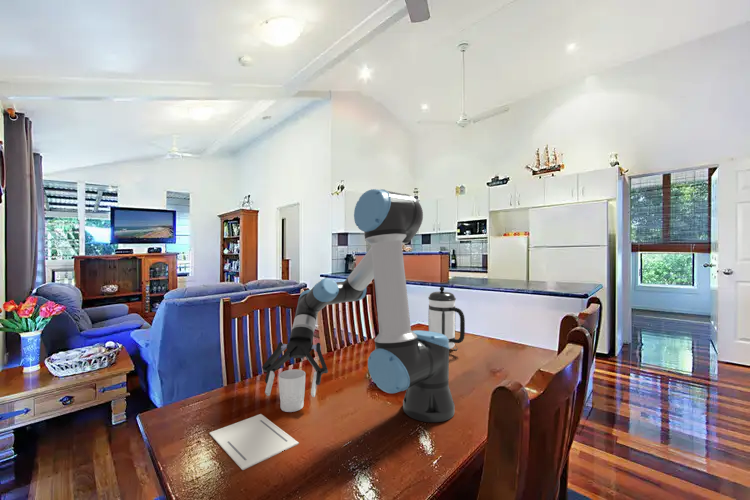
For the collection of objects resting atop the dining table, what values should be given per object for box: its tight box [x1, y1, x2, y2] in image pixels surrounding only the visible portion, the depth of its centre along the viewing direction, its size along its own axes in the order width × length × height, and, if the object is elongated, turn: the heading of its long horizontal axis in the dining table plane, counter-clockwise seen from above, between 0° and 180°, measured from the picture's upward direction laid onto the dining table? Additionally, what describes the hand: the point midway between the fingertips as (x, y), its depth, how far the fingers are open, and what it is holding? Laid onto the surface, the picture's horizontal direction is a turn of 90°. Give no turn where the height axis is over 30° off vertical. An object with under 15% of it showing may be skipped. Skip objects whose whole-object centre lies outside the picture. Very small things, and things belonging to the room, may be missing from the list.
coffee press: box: [427, 286, 466, 351], centre depth 159 cm, size 17×16×30 cm
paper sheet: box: [209, 413, 300, 471], centre depth 84 cm, size 20×14×1 cm
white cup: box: [278, 368, 307, 413], centre depth 101 cm, size 8×8×10 cm
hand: (290, 394), depth 99 cm, fingers open, 13 cm apart
